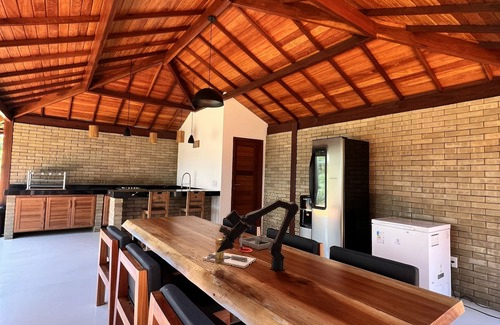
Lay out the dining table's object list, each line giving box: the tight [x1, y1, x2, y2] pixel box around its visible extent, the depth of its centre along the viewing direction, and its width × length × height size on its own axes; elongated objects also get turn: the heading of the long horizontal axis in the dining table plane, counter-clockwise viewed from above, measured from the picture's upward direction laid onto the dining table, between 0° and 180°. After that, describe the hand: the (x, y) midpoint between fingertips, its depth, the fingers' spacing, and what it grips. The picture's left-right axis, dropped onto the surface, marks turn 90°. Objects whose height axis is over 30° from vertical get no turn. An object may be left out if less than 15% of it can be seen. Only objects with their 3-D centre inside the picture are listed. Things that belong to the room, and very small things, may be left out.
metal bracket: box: [252, 235, 269, 245], centre depth 206 cm, size 14×6×15 cm
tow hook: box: [237, 232, 253, 254], centre depth 187 cm, size 8×13×9 cm
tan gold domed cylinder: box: [214, 237, 225, 265], centre depth 150 cm, size 5×5×13 cm
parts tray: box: [238, 235, 275, 251], centre depth 206 cm, size 22×22×3 cm
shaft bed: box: [202, 251, 257, 269], centre depth 166 cm, size 28×16×3 cm, turn 65°
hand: (217, 250), depth 150 cm, fingers closed on tan gold domed cylinder, 5 cm apart
